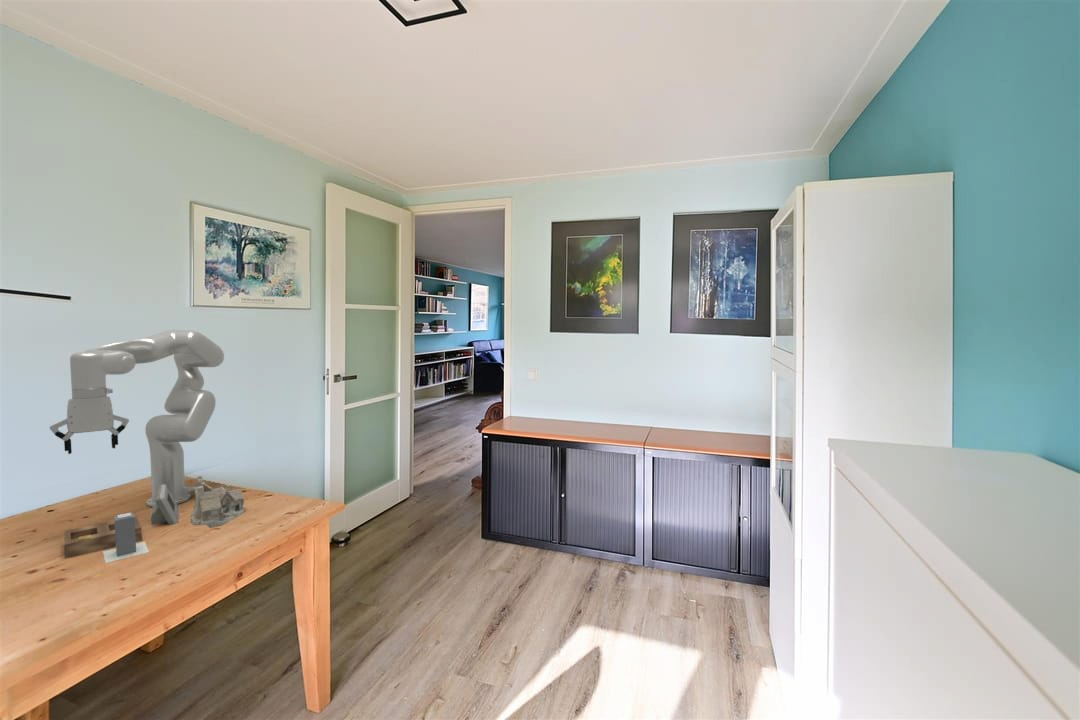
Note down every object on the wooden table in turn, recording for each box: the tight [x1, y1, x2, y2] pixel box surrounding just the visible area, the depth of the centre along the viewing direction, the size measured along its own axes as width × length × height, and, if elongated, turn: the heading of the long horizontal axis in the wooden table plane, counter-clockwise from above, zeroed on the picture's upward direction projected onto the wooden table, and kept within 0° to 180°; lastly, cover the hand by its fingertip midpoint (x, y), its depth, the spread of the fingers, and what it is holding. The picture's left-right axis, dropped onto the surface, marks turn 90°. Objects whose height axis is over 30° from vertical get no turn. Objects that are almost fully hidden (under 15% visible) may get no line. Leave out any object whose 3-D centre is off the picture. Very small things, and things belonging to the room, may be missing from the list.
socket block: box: [63, 515, 143, 559], centre depth 139 cm, size 16×12×5 cm
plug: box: [113, 512, 137, 556], centre depth 133 cm, size 4×4×10 cm
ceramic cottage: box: [189, 475, 246, 529], centre depth 160 cm, size 16×16×15 cm
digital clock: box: [150, 484, 180, 526], centre depth 157 cm, size 16×9×11 cm, turn 25°
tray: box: [102, 541, 149, 564], centre depth 133 cm, size 9×9×1 cm
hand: (92, 450), depth 144 cm, fingers open, 9 cm apart
